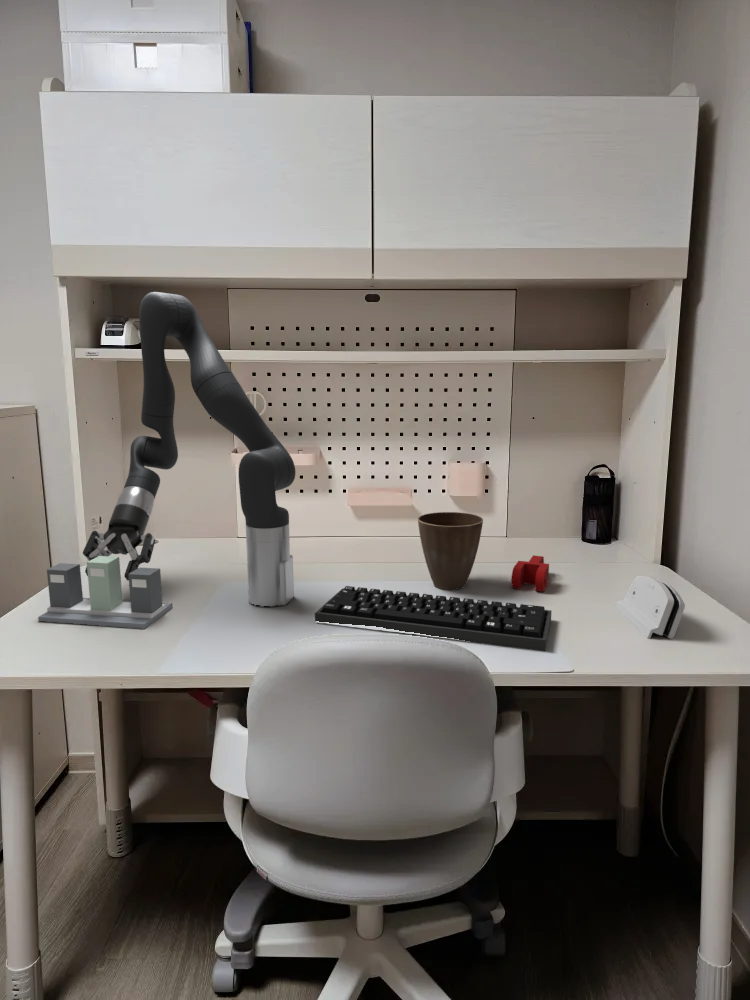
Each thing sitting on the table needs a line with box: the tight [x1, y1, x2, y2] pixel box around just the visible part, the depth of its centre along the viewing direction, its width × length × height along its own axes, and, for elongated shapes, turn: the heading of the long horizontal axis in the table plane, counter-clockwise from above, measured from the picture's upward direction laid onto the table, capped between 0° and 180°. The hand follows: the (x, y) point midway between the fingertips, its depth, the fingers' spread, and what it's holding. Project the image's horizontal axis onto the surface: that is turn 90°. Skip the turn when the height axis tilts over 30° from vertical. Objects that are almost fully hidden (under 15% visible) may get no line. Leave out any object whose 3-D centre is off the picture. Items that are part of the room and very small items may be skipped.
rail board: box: [37, 562, 173, 630], centre depth 141 cm, size 23×12×10 cm, turn 80°
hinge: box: [614, 575, 686, 640], centre depth 137 cm, size 17×5×10 cm, turn 3°
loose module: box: [86, 556, 124, 611], centre depth 141 cm, size 4×5×10 cm
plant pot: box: [417, 511, 484, 591], centre depth 159 cm, size 15×15×16 cm
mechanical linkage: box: [510, 554, 550, 593], centre depth 163 cm, size 16×7×5 cm, turn 157°
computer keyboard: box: [314, 585, 552, 652], centre depth 138 cm, size 45×16×4 cm, turn 72°
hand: (108, 577), depth 142 cm, fingers open, 8 cm apart
